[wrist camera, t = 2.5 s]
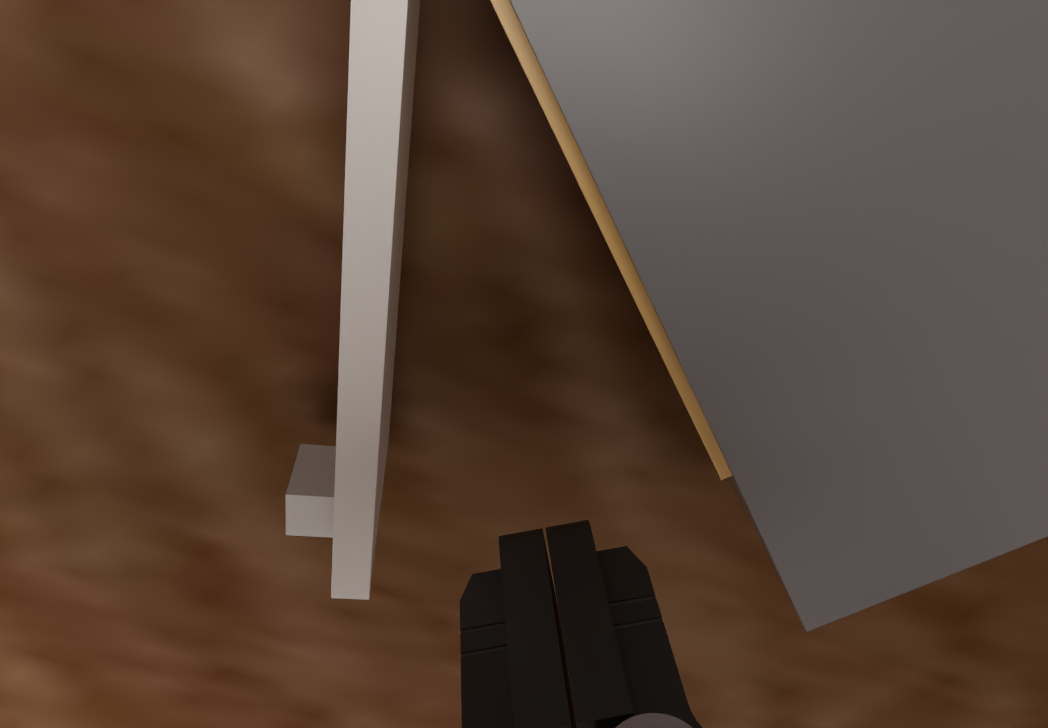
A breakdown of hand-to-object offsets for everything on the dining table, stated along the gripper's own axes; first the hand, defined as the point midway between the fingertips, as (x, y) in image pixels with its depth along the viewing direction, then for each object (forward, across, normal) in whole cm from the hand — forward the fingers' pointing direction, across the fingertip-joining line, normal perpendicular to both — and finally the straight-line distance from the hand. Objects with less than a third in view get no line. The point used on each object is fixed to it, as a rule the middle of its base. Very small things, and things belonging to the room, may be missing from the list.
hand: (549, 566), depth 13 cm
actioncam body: (+9, -7, -5) cm, 13 cm away
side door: (+9, +3, -4) cm, 10 cm away
